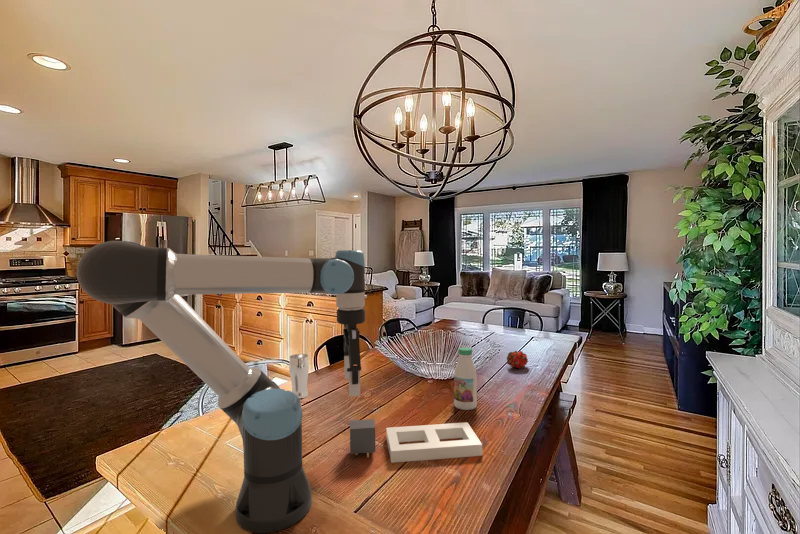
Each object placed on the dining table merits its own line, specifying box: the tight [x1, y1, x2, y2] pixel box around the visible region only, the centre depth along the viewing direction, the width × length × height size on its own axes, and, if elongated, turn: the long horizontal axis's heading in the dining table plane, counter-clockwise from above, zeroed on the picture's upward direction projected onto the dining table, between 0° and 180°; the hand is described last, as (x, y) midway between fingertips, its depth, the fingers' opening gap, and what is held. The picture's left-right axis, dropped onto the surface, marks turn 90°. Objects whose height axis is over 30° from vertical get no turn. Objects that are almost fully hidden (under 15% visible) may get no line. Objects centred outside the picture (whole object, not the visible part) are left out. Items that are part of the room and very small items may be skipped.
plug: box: [349, 418, 376, 458], centre depth 102 cm, size 5×6×8 cm
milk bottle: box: [453, 346, 478, 411], centre depth 132 cm, size 8×8×20 cm
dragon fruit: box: [506, 350, 529, 370], centre depth 175 cm, size 8×8×12 cm
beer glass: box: [288, 353, 310, 400], centre depth 143 cm, size 7×7×15 cm
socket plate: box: [385, 421, 483, 463], centre depth 106 cm, size 13×24×3 cm, turn 97°
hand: (351, 386), depth 104 cm, fingers open, 13 cm apart
